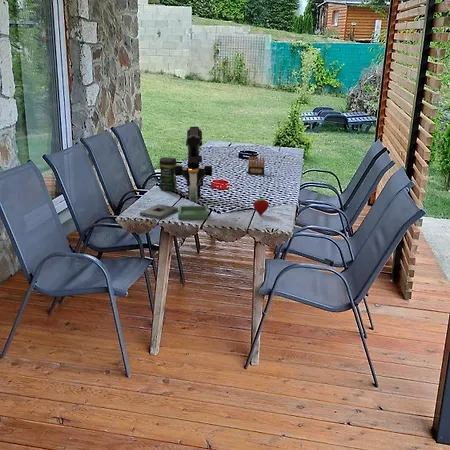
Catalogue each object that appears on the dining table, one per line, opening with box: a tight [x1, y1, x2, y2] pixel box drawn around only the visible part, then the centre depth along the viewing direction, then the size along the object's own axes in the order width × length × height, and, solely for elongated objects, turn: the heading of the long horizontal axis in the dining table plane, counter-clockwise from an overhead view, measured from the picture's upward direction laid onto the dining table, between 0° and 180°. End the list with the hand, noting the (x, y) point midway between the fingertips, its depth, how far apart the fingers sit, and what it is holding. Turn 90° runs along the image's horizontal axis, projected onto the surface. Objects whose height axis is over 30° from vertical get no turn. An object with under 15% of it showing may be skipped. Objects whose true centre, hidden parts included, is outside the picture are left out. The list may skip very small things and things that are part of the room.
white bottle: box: [187, 167, 199, 203], centre depth 262 cm, size 5×5×16 cm
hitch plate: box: [139, 203, 179, 220], centre depth 262 cm, size 16×12×2 cm
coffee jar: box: [158, 156, 178, 192], centre depth 302 cm, size 10×8×19 cm
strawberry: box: [253, 197, 270, 216], centre depth 259 cm, size 6×8×10 cm
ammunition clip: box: [247, 155, 266, 176], centre depth 341 cm, size 11×2×12 cm, turn 83°
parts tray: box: [177, 205, 209, 220], centre depth 260 cm, size 14×14×2 cm
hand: (193, 185), depth 261 cm, fingers closed on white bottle, 4 cm apart
